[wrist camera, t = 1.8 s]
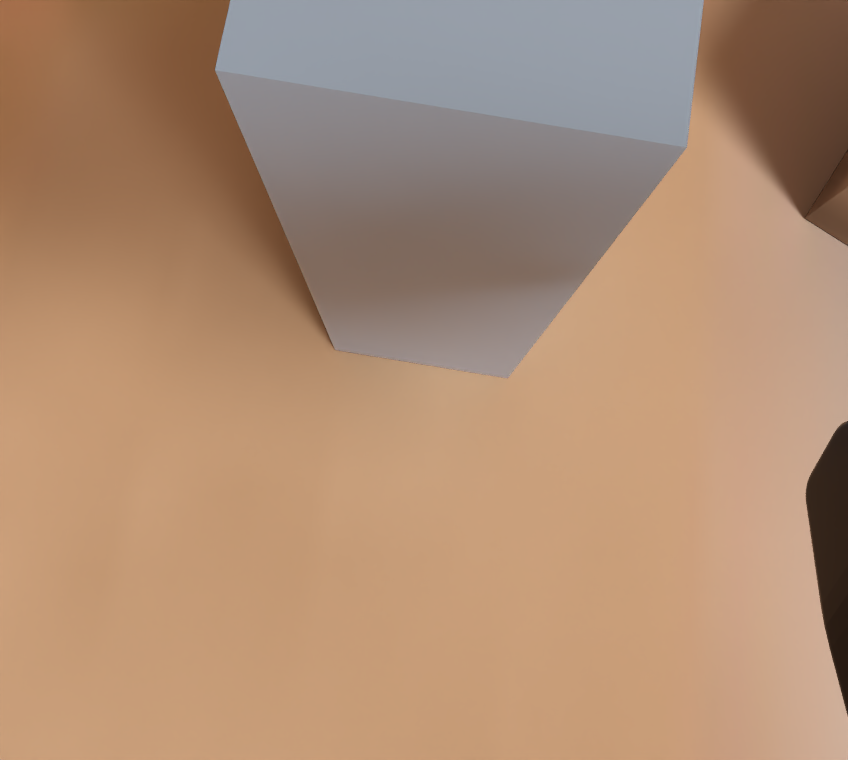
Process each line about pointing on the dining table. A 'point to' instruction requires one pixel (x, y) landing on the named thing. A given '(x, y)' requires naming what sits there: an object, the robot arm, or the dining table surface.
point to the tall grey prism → (456, 155)
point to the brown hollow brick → (833, 204)
